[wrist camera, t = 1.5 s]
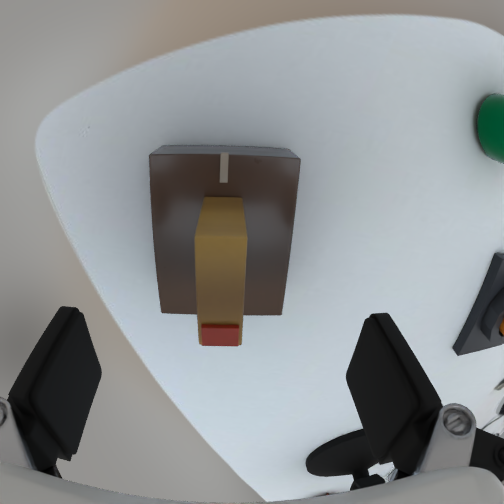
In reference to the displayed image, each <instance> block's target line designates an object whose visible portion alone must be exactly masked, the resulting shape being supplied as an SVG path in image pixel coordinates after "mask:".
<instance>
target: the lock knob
mask: <svg viewBox="0 0 504 504" xmlns="http://www.w3.org/2000/svg"><path fill="white" fill-rule="evenodd" d="M247 240H248V238H247V230H246V222H245V215H244V207H243V199H242V198H237V197H204V200H203V204H202V208H201V212H200V216H199V220H198V224H197V228H196V232H195V237H194V243H195V276H196V300H197V319H198V336H199V344H201V345H202V346H238V345H241V344H242V328H243V310H244V292H245V275H246V257H247Z"/></svg>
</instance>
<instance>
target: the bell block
mask: <svg viewBox="0 0 504 504" xmlns="http://www.w3.org/2000/svg"><path fill="white" fill-rule="evenodd" d="M503 319H504V254H499V253H495V255H494V257H493V260H492V263H491V265H490V268H489V271H488V273H487V276H486V278H485V281H484V283H483V286H482V288H481V291H480V293H479V295H478V298H477V300H476V302H475V304H474V306H473V309H472V311H471V313H470V315H469V317H468V319H467V321H466V323H465V325H464V327H463V329H462V331H461V333H460V335H459V337H458V339H457V341H456V343H455V345H454V347H453V350H454V351H455V353H456V354H457V356H459V355H463V354H468V353H472V352H476V351H480V350H484V349H488V348H491V347H495V346H499V345H502V344H504V335H503V334H502V333H501V332H500V329H499V328H500V325H501V323H502V321H503Z"/></svg>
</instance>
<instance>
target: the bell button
mask: <svg viewBox="0 0 504 504" xmlns="http://www.w3.org/2000/svg"><path fill="white" fill-rule="evenodd" d="M499 329H500V332H501V333H502V334H503V335H504V319H503V321H502V323H501V325H500V328H499Z"/></svg>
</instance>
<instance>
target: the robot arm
mask: <svg viewBox="0 0 504 504" xmlns="http://www.w3.org/2000/svg"><path fill="white" fill-rule="evenodd" d="M101 373H102V372H101V366H100V364H99V361H98V358H97V355H96V352H95V349H94V346H93V343H92V341H91V337H90V334H89V331H88V328H87V324H86V321H85V318H84V315H83V313H81V312H79V310H78V308H76V307H65V306H62V307H60V308H59V310H58V311H57V313H56V314H55V316H54V318H53V319H52V320H51V322H50V324H49V325H48V327H47V328H46V330H45V331H44V333H43V335H42V336H41V338H40V339H39V341H38V343H37V344H36V346H35V348H34V349H33V351H32V353H31V354H30V356H29V358H28V360H27V361H26V363H25V365H24V367H23V368H22V370H21V372H20V374H19V376H18V377H17V379H16V381H15V383H14V385H13V387H12V388H11V390H10V392H9V394H8V395H9V397H8V399H7V400H6V399H4V398H2V397H0V504H504V439H503V438H500V437H498V436H495V435H493V434H490V433H488V432H486V431H483V430H481V429H478V428H476V420H475V417H474V415H473V413H472V412H471V411H470V410H469V409H468V408H467V407H465V406H463V405H461V404H456V403H452V404H448V405H445V406H444V407H443V405H442V403H441V399H440V398H439V396H438V394H437V392H436V390H435V389H434V387H433V385H432V383H431V382H430V380H429V378H428V377H427V375H426V373H425V371H424V370H423V368H422V366H421V365H420V363H419V361H418V360H417V358H416V356H415V355H414V353H413V351H412V350H411V348H410V347H409V345H408V343H407V342H406V340H405V339H404V337H403V335H402V334H401V332H400V331H399V329H398V327H397V326H396V324H395V323H394V321H393V320H392V318H391V317H390V315H389V314H388V313H375V314H371V315H370V316H369V318H366V319H365V321H364V324H363V327H362V330H361V333H360V336H359V339H358V342H357V345H356V348H355V351H354V353H353V356H352V359H351V362H350V364H349V367H348V370H347V373H346V381H347V384H348V387H349V389H350V392H351V395H352V398H353V400H354V403H355V406H356V409H357V412H358V415H359V417H360V420H361V423H362V426H363V429H364V432H365V435H366V438H367V440H368V443H369V446H370V449H371V452H372V455H373V457H374V458H378V461H379V464H380V465H381V464H385V463H389V462H393V464H394V467H395V470H394V472H393V474H392V476H391V478H390V480H389V482H387V483H383V484H379V485H375V486H371V487H366V488H362V489H357V490H353V491H348V492H343V493H337V494H331V495H325V496H319V497H312V498H304V499H295V500H285V501H273V502H256V503H204V502H188V501H187V502H186V501H174V500H166V499H157V498H149V497H142V496H136V495H129V494H124V493H119V492H114V491H109V490H104V489H100V488H96V487H91V486H87V485H83V484H79V483H75V482H72V481H68V480H64V479H62V477H61V475H60V473H59V471H58V469H57V467H56V461H57V458H60V459H64V460H67V461H71V457H72V454H76V452H77V450H78V447H79V443H80V440H81V437H82V433H83V430H84V427H85V423H86V420H87V417H88V414H89V411H90V408H91V405H92V402H93V399H94V396H95V393H96V390H97V388H98V384H99V382H100V379H101Z"/></svg>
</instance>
